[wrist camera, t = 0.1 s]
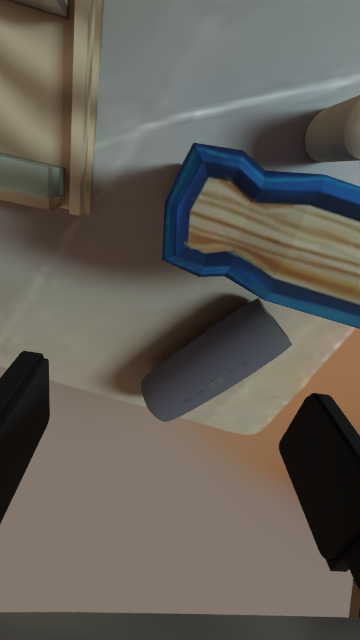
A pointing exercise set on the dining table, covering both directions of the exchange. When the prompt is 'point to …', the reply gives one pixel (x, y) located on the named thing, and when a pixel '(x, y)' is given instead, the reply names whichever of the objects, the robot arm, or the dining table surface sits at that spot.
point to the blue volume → (267, 231)
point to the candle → (335, 133)
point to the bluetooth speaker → (214, 361)
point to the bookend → (48, 6)
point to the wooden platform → (49, 104)
